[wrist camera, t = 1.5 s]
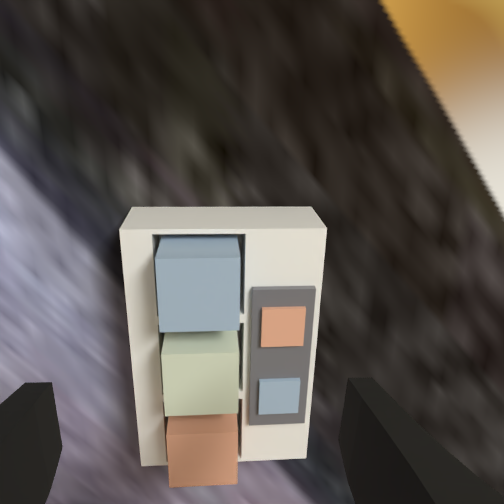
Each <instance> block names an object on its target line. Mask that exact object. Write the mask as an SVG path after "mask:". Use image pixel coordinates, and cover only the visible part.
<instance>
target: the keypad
mask: <svg viewBox="0 0 504 504" xmlns="http://www.w3.org/2000/svg"><path fill="white" fill-rule="evenodd" d="M119 232H120V243H121V254H122V265H123V275H124V286H125V297H126V307H127V318H128V329H129V340H130V350H131V361H132V372H133V382H134V393H135V404H136V415H137V425H138V436H139V447H140V457H141V466H159V465H168V456H167V440H166V433H167V425H168V417H169V416H165V409H164V393H163V377H162V361H161V352H162V347H163V341H164V335H165V332H160V329H159V314H158V298H157V282H156V266H155V257H156V254H157V251H158V247H159V244H160V240H161V237H162V235H237V238H238V245H239V251H240V258H241V259H240V327H239V330H237V336H238V346H239V396H238V413H237V426H238V461H258V460H278V459H298V458H306V453H307V442H308V431H309V420H310V409H311V398H312V387H313V376H314V365H315V354H316V343H317V332H318V321H319V310H320V299H321V288H322V277H323V266H324V255H325V244H326V233H327V228H326V226H325V225H324V224H323V222H322V221H321V220H320V218H319V217H318V215H317V214H316V213H315V211H314V210H313V208H312V207H132V208H131V210H130V212H129V213H128V215H127V217H126V219H125V220H124V222H123V224H122V226H121V227H120V229H119Z"/></svg>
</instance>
